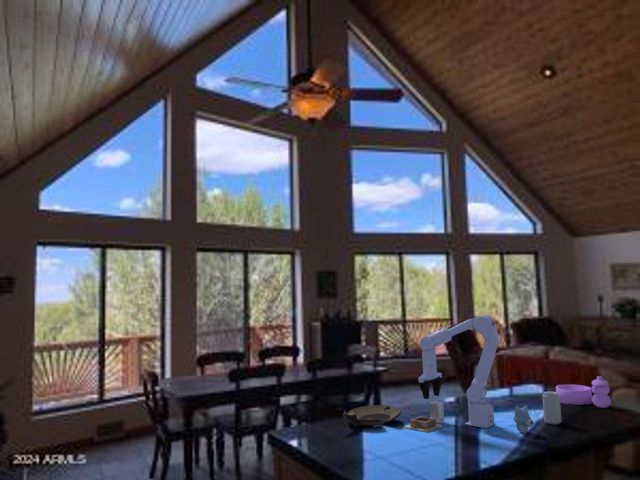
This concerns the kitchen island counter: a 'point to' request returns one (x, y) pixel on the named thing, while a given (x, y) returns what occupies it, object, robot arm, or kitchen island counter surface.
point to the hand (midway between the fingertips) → (431, 397)
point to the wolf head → (522, 419)
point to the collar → (423, 424)
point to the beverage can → (551, 407)
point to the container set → (585, 393)
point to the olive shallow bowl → (372, 415)
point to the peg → (437, 411)
